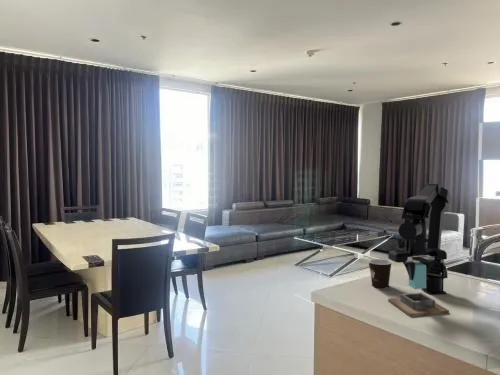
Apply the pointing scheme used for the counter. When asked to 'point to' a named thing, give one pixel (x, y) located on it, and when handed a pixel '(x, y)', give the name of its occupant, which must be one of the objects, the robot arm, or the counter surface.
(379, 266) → the coffee mug
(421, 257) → the robot arm
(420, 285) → the teal post
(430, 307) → the well block
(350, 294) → the counter surface
